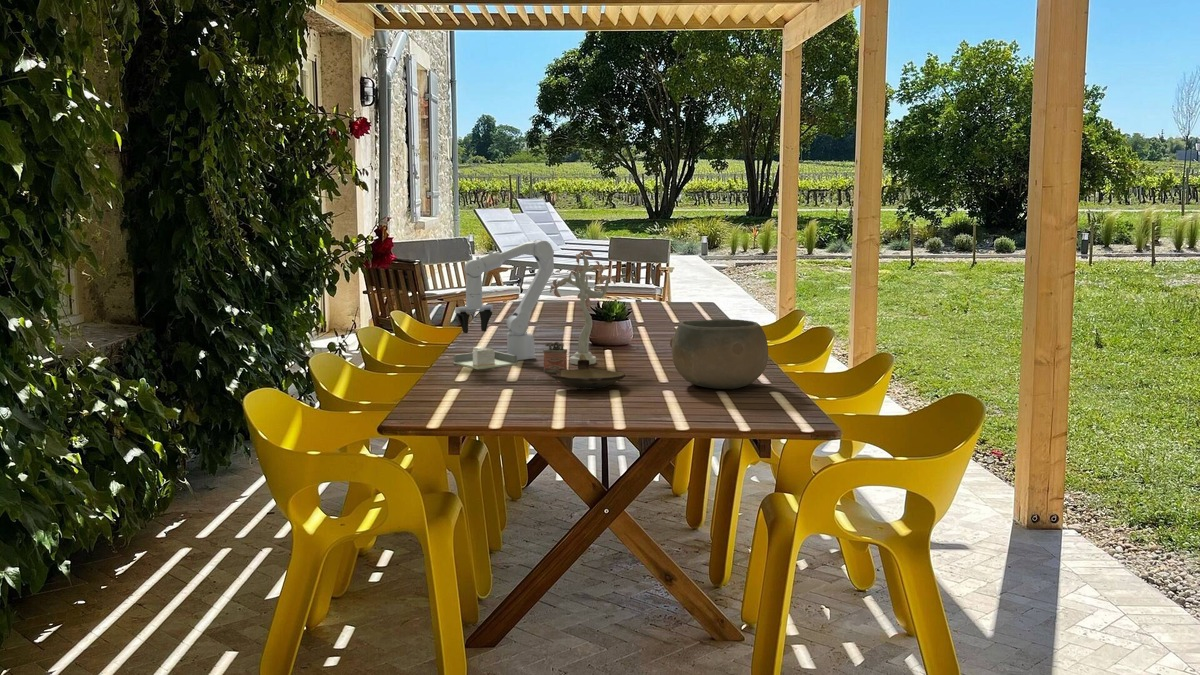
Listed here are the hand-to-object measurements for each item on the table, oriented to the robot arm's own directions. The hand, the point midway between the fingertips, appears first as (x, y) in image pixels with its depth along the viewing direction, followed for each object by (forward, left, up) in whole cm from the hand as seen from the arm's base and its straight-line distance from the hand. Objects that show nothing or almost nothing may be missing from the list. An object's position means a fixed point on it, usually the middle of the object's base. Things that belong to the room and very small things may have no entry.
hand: (474, 332), depth 355 cm
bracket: (+4, +9, -10) cm, 14 cm away
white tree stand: (-28, +27, -11) cm, 40 cm away
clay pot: (-32, +90, -11) cm, 96 cm away
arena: (+1, +8, -10) cm, 13 cm away
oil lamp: (-2, +64, -11) cm, 65 cm away
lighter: (-9, +36, -11) cm, 39 cm away
